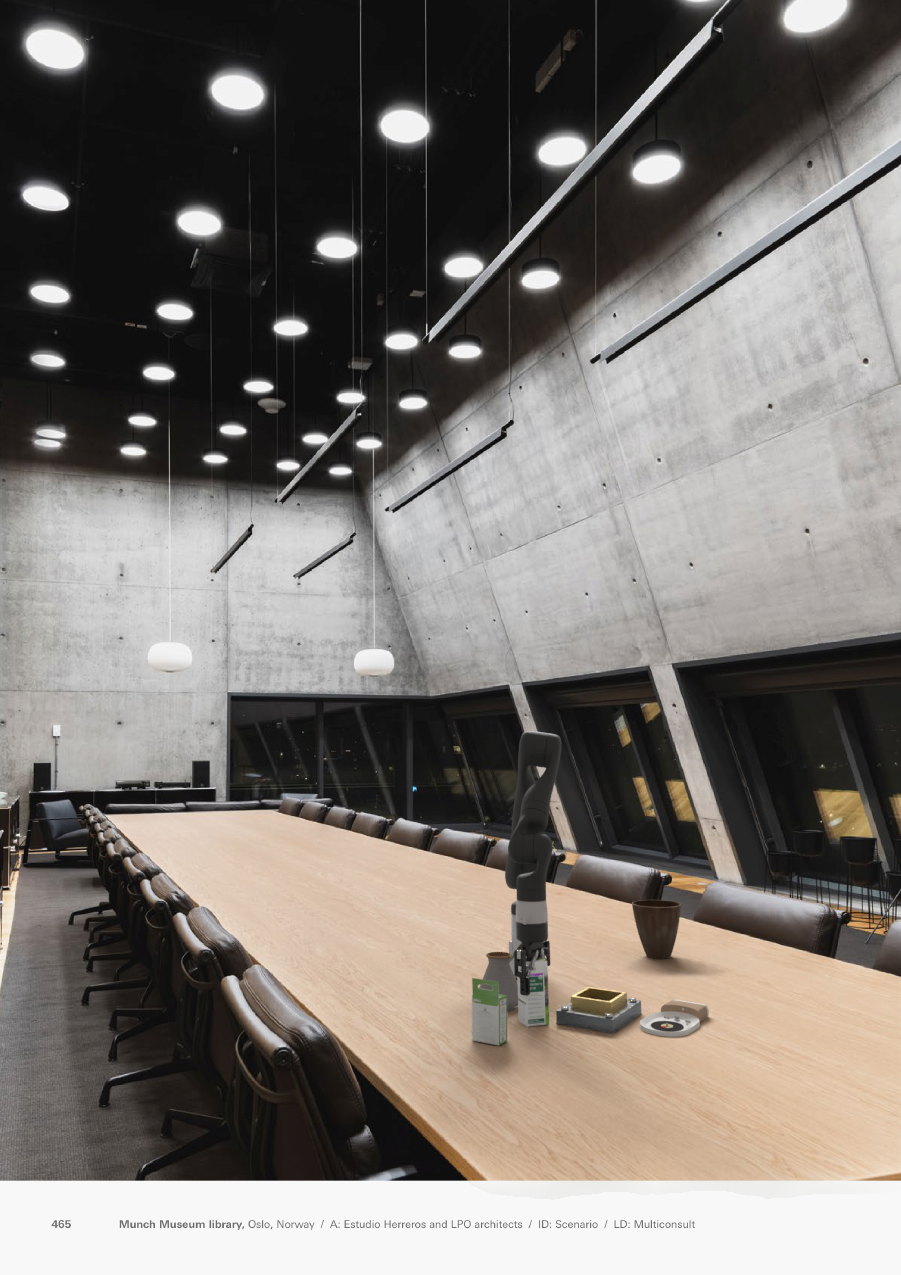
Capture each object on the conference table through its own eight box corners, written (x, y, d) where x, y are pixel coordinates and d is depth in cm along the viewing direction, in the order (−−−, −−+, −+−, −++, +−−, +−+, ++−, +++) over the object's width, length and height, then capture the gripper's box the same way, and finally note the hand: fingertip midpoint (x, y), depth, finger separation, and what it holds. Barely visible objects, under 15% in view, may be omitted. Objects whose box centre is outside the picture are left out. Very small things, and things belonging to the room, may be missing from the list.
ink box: (508, 1042, 192) (507, 978, 194) (499, 1047, 189) (498, 982, 191) (481, 1036, 196) (480, 974, 198) (471, 1041, 193) (471, 977, 194)
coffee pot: (505, 1018, 210) (505, 952, 212) (467, 1009, 217) (466, 946, 219) (551, 998, 227) (550, 938, 229) (514, 991, 233) (513, 932, 235)
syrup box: (526, 1027, 202) (525, 962, 204) (517, 1020, 208) (516, 956, 210) (549, 1025, 203) (548, 960, 205) (540, 1018, 209) (539, 955, 211)
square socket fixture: (556, 1024, 205) (556, 999, 205) (587, 1005, 220) (587, 982, 220) (613, 1033, 197) (612, 1008, 198) (641, 1013, 212) (640, 990, 213)
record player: (713, 1005, 209) (679, 1028, 193) (713, 1019, 209) (680, 1043, 193) (666, 998, 216) (631, 1019, 200) (667, 1011, 216) (631, 1033, 200)
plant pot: (623, 954, 276) (622, 901, 278) (662, 949, 282) (660, 898, 284) (654, 964, 262) (652, 908, 265) (693, 958, 269) (691, 905, 271)
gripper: (531, 913, 217) (532, 982, 214) (503, 922, 205) (504, 996, 202) (559, 916, 213) (560, 986, 210) (532, 926, 201) (533, 1000, 198)
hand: (533, 991), depth 206 cm, fingers closed on syrup box, 8 cm apart
